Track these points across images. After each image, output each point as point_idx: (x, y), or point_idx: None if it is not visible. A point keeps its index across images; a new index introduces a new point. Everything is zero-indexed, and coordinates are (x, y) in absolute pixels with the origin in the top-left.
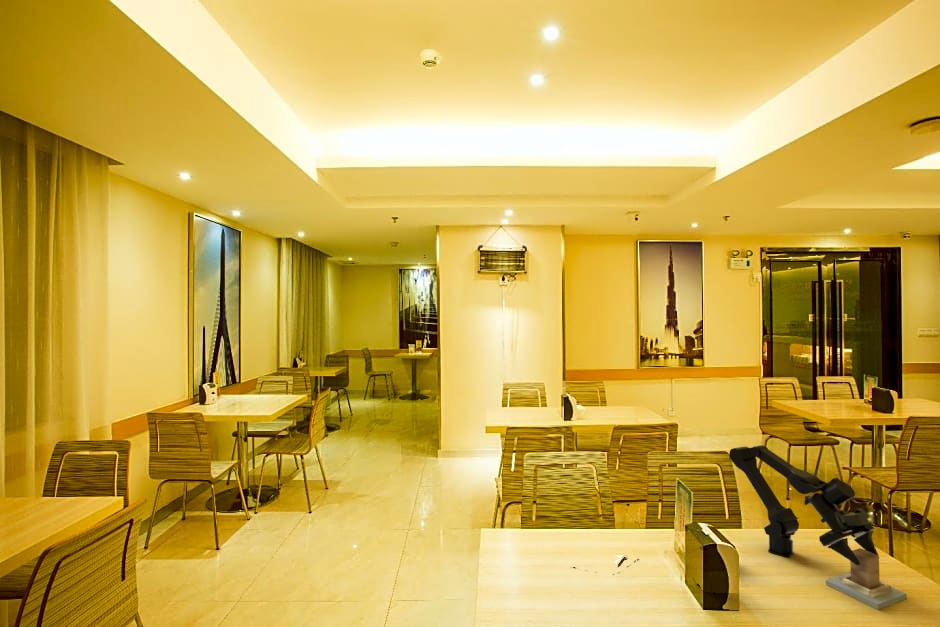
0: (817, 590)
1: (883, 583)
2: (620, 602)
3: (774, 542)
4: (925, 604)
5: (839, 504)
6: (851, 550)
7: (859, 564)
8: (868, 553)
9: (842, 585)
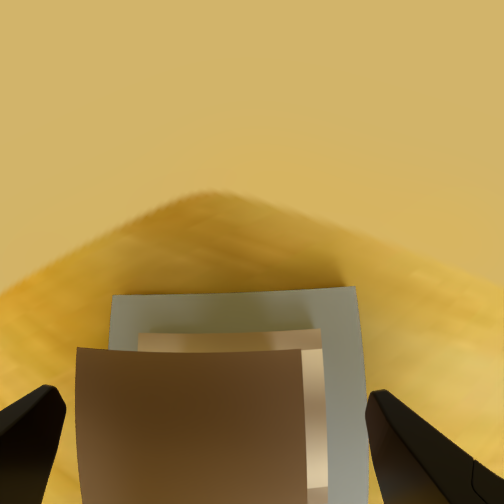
0: None
1: None
2: None
3: None
4: (109, 249)
5: None
6: (454, 487)
7: (380, 392)
8: (130, 440)
9: (344, 466)
